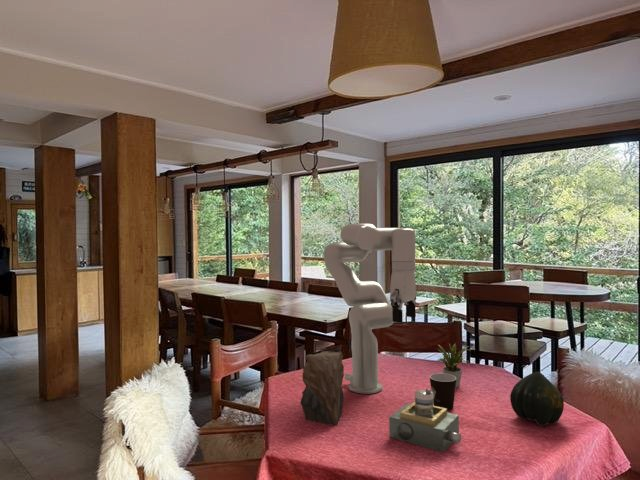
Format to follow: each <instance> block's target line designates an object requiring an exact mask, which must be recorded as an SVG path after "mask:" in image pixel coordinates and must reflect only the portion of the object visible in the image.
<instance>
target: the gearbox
mask: <svg viewBox="0 0 640 480" xmlns="http://www.w3.org/2000/svg"><path fill="white" fill-rule="evenodd" d="M459 416H460V415H459V414H455V413H453V412H452V413H451V412H449V411H447V408H442V407H438V406H434V416H433V418H427V417H423V416H419V415H415V401H413V402H412V403H406V404H404V405H403V406H402V407H400V408H399V409H398V410H396V411H394V412H393V413H392V414H391V415H389V417H388V419H389V420H388V425H389V426H388V427H389V428H388V429H389V432H388V433H389V438H391V439H393V440H398V441H401V442H404V443H407V444H412V445H416V446H419V447H422V448H426V449H430V450H433V451H436V452H441V453H445V451H446V450H448V449H449V447H450V446H451V445H452V444H453V443H457V444H461V441H462V434H461V433H460V419H459V418H460V417H459Z"/></svg>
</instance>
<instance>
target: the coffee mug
mask: <svg viewBox="0 0 640 480" xmlns="http://www.w3.org/2000/svg"><path fill="white" fill-rule="evenodd" d="M429 384H430V389H431V392H433V393H434V406H438V407H442V408H447V412H449V411H452V410H453V409H454V403H455V395H456V388H455V387H456V377H455V376H453V375H450V374H445V373H443V372H438V373H432V374H430V375H429Z"/></svg>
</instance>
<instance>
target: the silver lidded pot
mask: <svg viewBox="0 0 640 480" xmlns="http://www.w3.org/2000/svg"><path fill="white" fill-rule="evenodd" d="M414 402H415V415H419V416H423V417H427V418H433V416H434V393H433V392H431V388H426V389H417V390H416V391H415V392H414Z"/></svg>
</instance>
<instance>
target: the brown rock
mask: <svg viewBox="0 0 640 480" xmlns="http://www.w3.org/2000/svg"><path fill="white" fill-rule="evenodd" d="M343 358H344V355H343V353H342V351H340V350H339V351H337V352H336V351H329V350H323V351H321V352H318V353H315V354H313V353H312V354H311V353H310V354H306V355H305V360H306V362H305V364H304V366H303V369H302V382H303V383H304V385H305V388H304V389H303V390H302V392H301V393H302V396H301V399H300V405H301V407H302V410H303V414H304V420H305V419H306V420H305V421H307V420H310V421H309V422H314V421H315V423H320V424H324V425H329V426H338V425H339V422H340V418H341V415H342V411H343V407H344V406H343V405H344V397H345V396H344V391H343V381H344V378H345V373H344V370H345V369H344V368H345V367H344V364H343Z"/></svg>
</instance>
